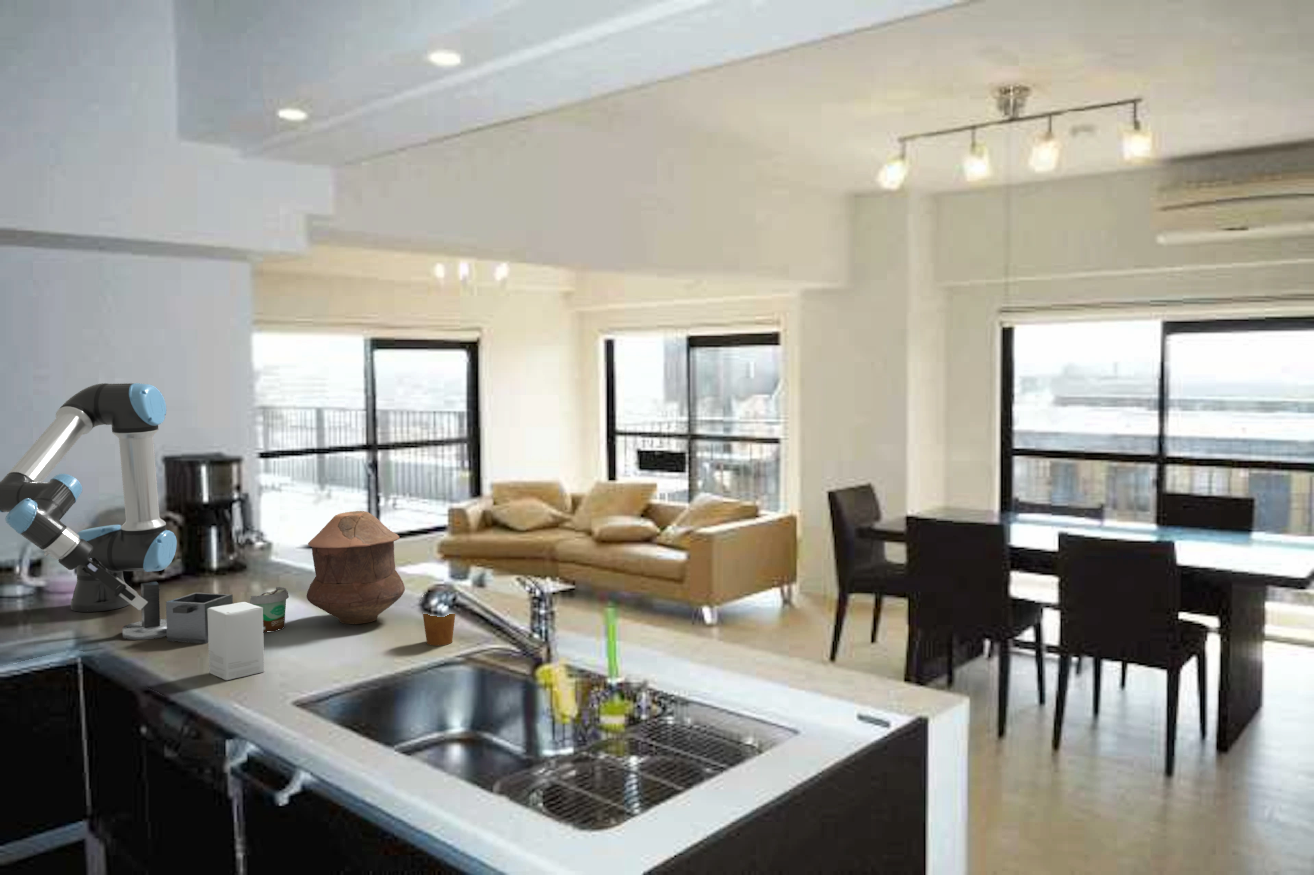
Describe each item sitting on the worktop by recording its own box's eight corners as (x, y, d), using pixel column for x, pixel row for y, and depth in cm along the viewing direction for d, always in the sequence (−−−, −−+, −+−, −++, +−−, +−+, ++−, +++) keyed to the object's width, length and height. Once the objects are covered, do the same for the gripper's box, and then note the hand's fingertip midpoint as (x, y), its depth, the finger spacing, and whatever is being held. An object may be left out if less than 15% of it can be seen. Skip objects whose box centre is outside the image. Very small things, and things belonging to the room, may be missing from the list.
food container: (271, 635, 250) (271, 597, 249) (250, 634, 251) (249, 596, 250) (298, 623, 262) (298, 587, 261) (278, 622, 263) (277, 586, 263)
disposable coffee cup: (425, 649, 237) (424, 601, 237) (416, 640, 246) (415, 593, 245) (463, 644, 242) (463, 597, 241) (453, 635, 250) (452, 589, 250)
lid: (127, 642, 243) (126, 591, 242) (118, 631, 253) (117, 582, 252) (184, 634, 251) (182, 585, 250) (173, 624, 261) (171, 576, 260)
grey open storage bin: (201, 628, 257) (200, 590, 256) (238, 630, 255) (237, 592, 254) (161, 643, 242) (160, 603, 242) (200, 645, 240) (199, 605, 240)
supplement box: (265, 672, 219) (264, 606, 218) (226, 681, 212) (224, 614, 211) (247, 664, 225) (245, 600, 224) (208, 673, 218) (206, 607, 217)
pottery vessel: (423, 621, 265) (421, 512, 263) (334, 639, 247) (332, 522, 245) (376, 605, 283) (374, 503, 281) (290, 620, 265) (288, 511, 263)
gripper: (50, 553, 247) (118, 604, 257) (63, 568, 228) (136, 622, 238) (74, 531, 250) (140, 581, 260) (88, 544, 231) (159, 598, 241)
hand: (138, 601), depth 249 cm, fingers open, 13 cm apart
